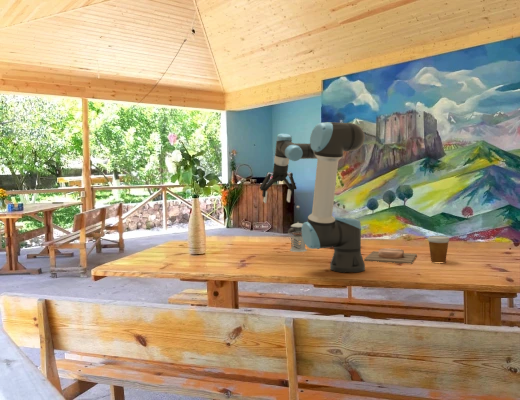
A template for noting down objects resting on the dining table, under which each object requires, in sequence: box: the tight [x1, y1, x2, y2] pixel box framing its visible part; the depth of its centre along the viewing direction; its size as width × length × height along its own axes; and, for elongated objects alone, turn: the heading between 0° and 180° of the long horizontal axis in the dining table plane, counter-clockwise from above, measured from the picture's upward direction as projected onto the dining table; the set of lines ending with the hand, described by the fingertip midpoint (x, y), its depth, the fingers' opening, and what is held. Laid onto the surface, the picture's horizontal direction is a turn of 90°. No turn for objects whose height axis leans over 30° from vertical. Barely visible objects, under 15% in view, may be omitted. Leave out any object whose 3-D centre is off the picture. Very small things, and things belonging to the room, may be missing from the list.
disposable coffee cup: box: [427, 235, 450, 263], centre depth 211 cm, size 10×10×12 cm
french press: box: [287, 205, 308, 253], centre depth 249 cm, size 10×12×25 cm
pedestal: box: [363, 247, 418, 265], centre depth 223 cm, size 22×22×4 cm
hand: (276, 201), depth 239 cm, fingers open, 13 cm apart
